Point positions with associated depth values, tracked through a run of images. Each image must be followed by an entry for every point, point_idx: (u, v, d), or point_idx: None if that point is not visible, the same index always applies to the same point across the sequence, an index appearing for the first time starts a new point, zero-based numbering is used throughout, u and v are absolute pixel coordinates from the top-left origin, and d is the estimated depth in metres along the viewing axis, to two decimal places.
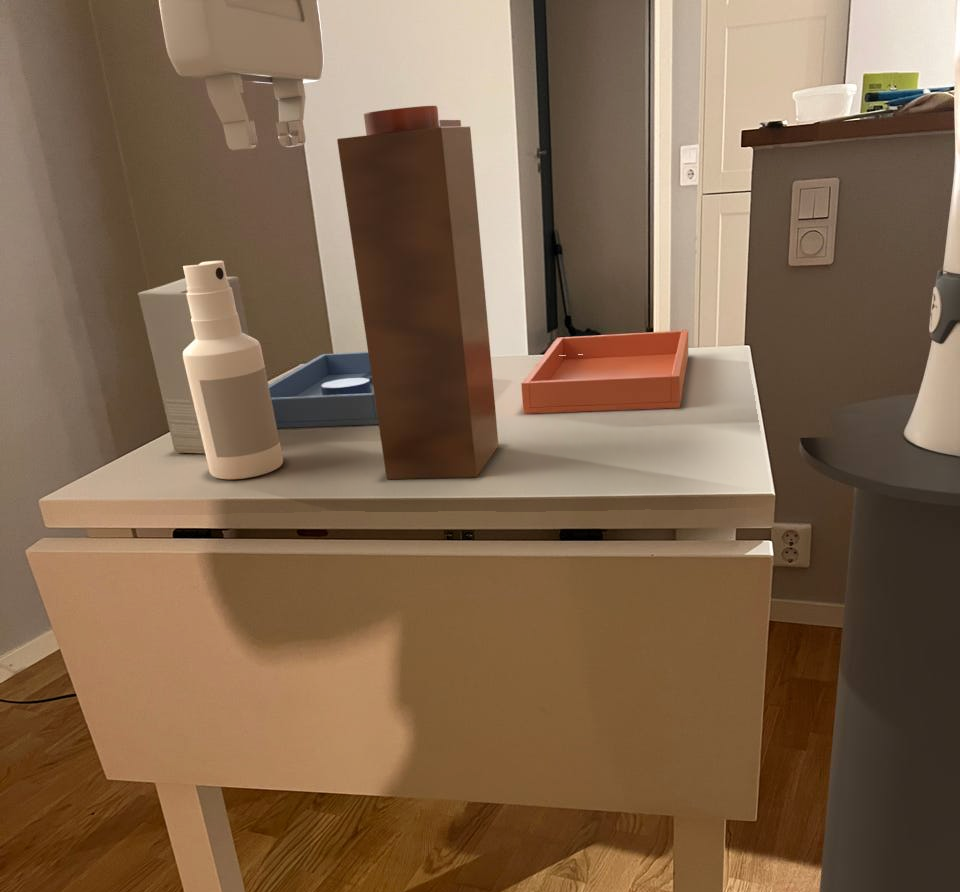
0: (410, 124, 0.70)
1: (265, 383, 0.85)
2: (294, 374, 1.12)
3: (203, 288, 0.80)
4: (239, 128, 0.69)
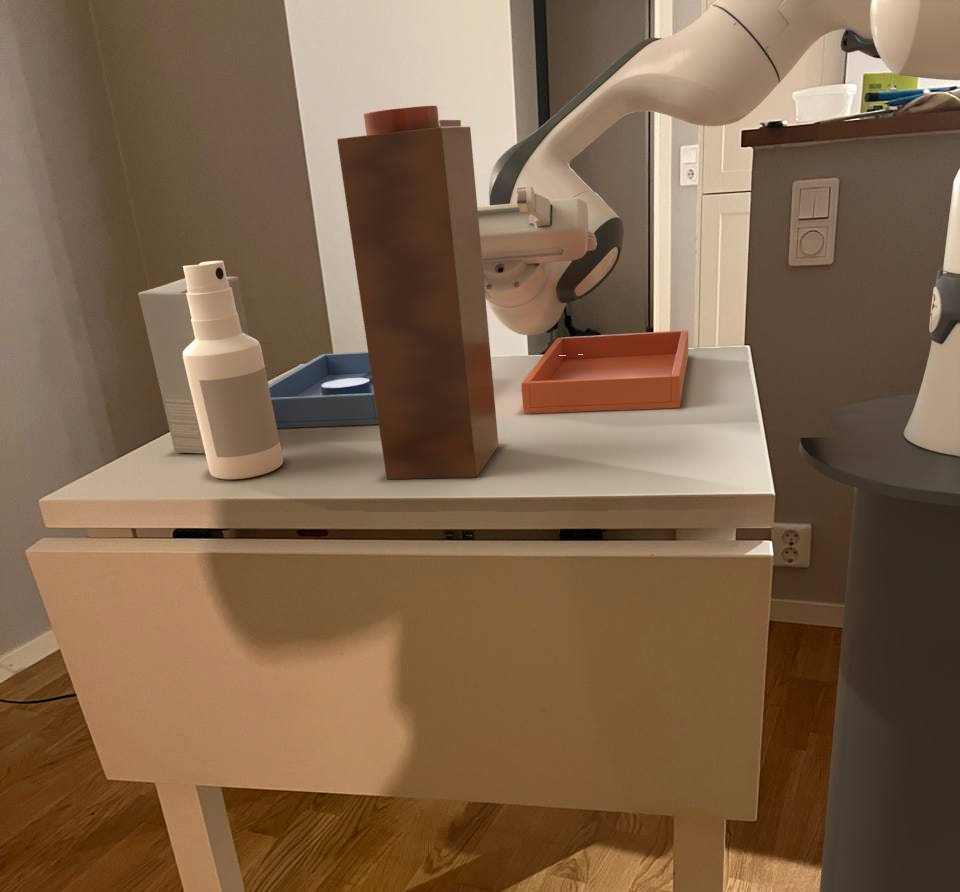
0: (410, 124, 0.70)
1: (265, 383, 0.85)
2: (294, 374, 1.12)
3: (203, 288, 0.80)
4: (533, 203, 0.94)
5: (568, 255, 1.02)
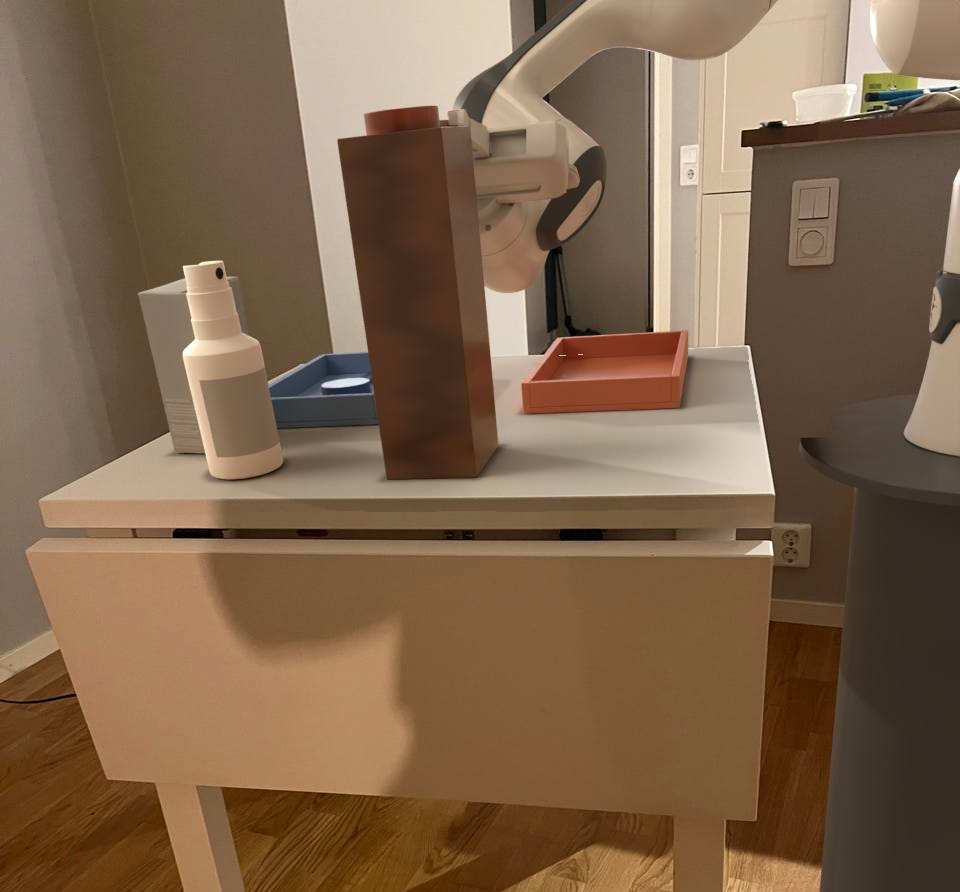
0: (410, 124, 0.70)
1: (265, 383, 0.85)
2: (294, 374, 1.12)
3: (203, 288, 0.80)
4: None
5: (546, 192, 0.89)
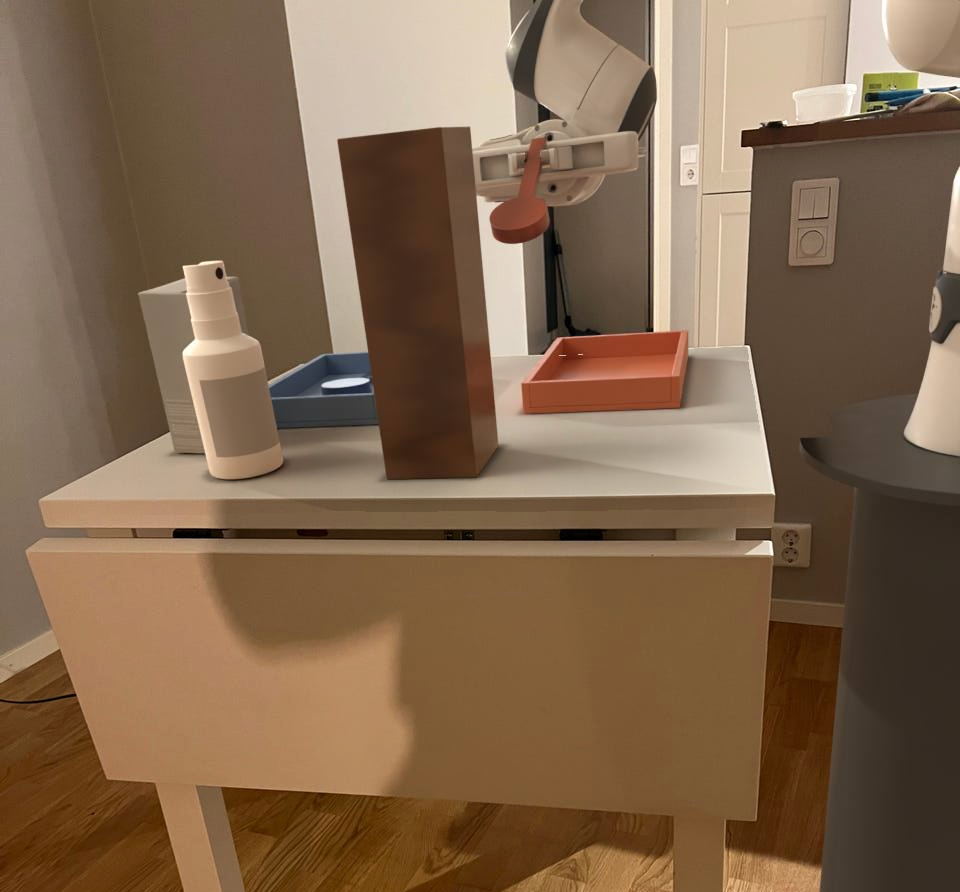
0: (530, 236, 0.90)
1: (265, 383, 0.85)
2: (294, 374, 1.12)
3: (203, 288, 0.80)
4: (557, 161, 0.98)
5: (619, 172, 1.05)
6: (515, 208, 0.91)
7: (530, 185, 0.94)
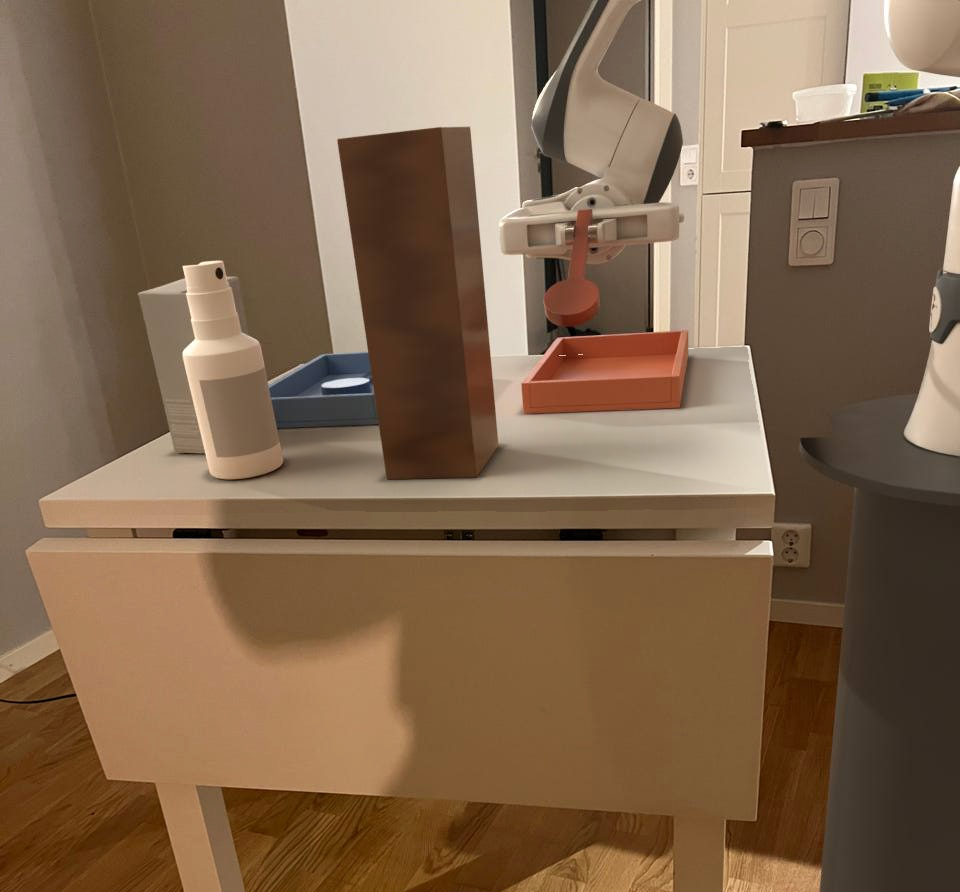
0: (583, 320, 0.95)
1: (265, 383, 0.85)
2: (294, 374, 1.12)
3: (203, 288, 0.80)
4: (603, 235, 1.02)
5: None
6: (568, 291, 0.96)
7: (580, 263, 0.99)
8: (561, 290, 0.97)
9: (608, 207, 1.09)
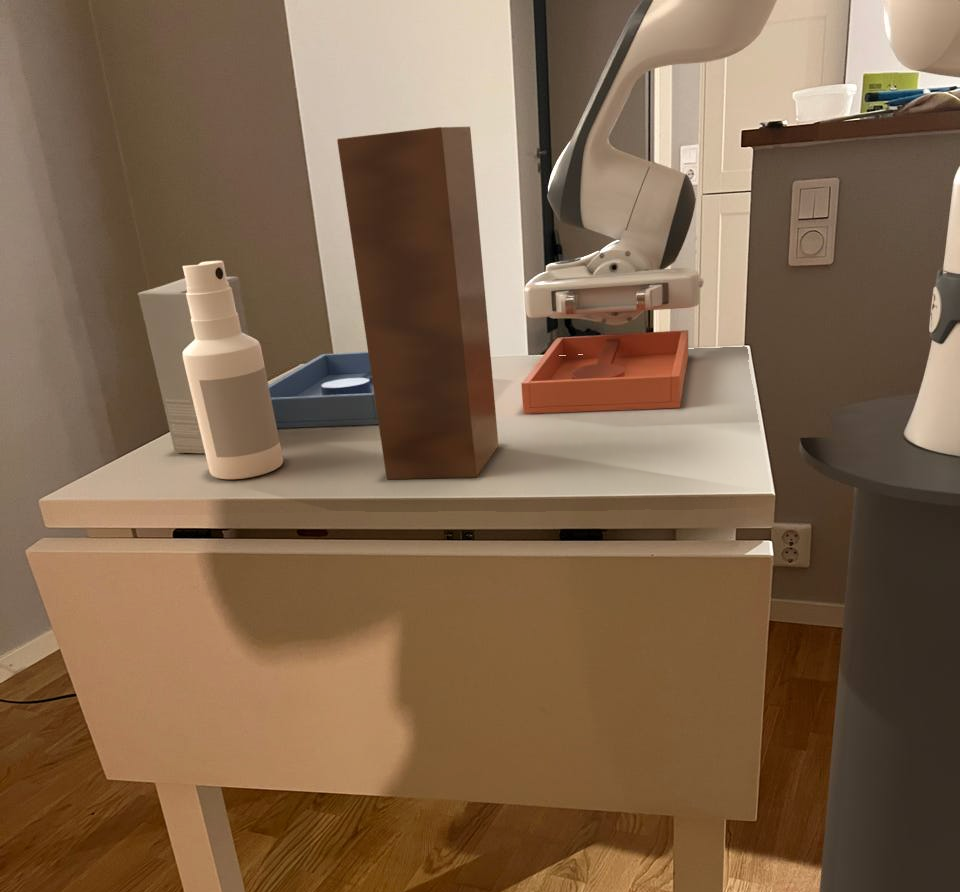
0: None
1: (265, 383, 0.85)
2: (294, 374, 1.12)
3: (203, 288, 0.80)
4: (650, 302, 1.06)
5: None
6: (595, 369, 1.02)
7: (607, 361, 1.06)
8: (588, 369, 1.02)
9: (629, 272, 1.13)
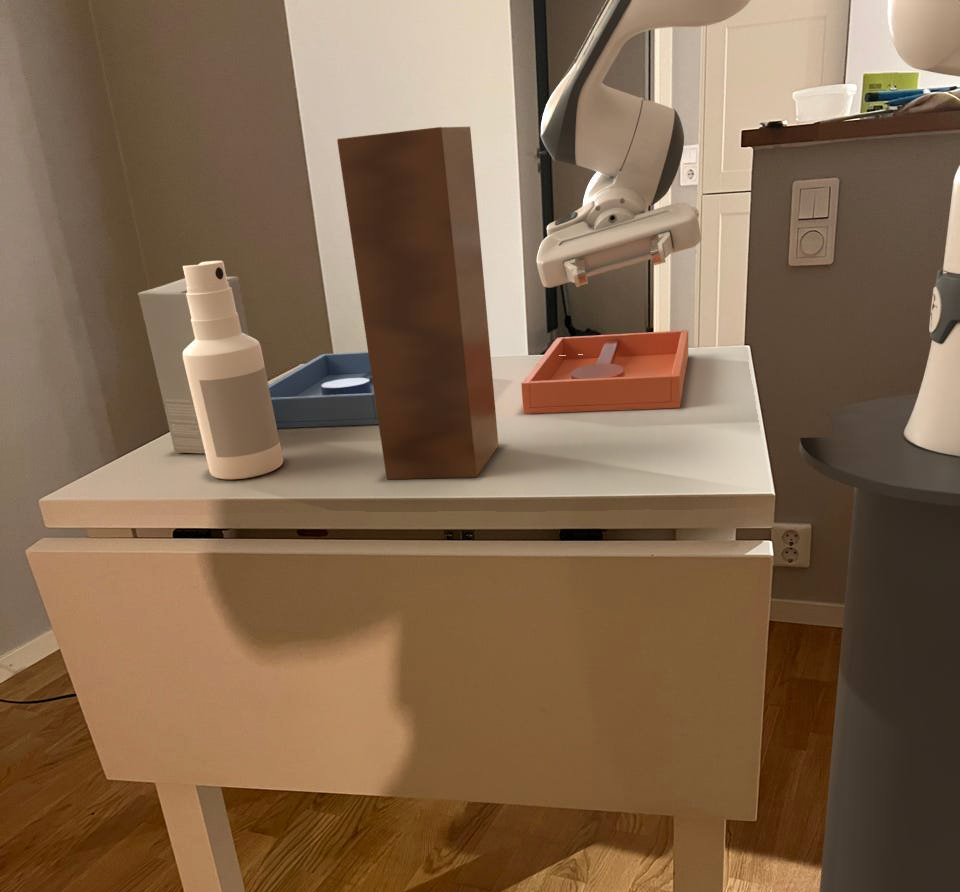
0: None
1: (265, 383, 0.85)
2: (294, 374, 1.12)
3: (203, 288, 0.80)
4: (664, 254, 1.14)
5: None
6: (595, 369, 1.02)
7: (607, 361, 1.06)
8: (588, 369, 1.02)
9: (628, 220, 1.20)
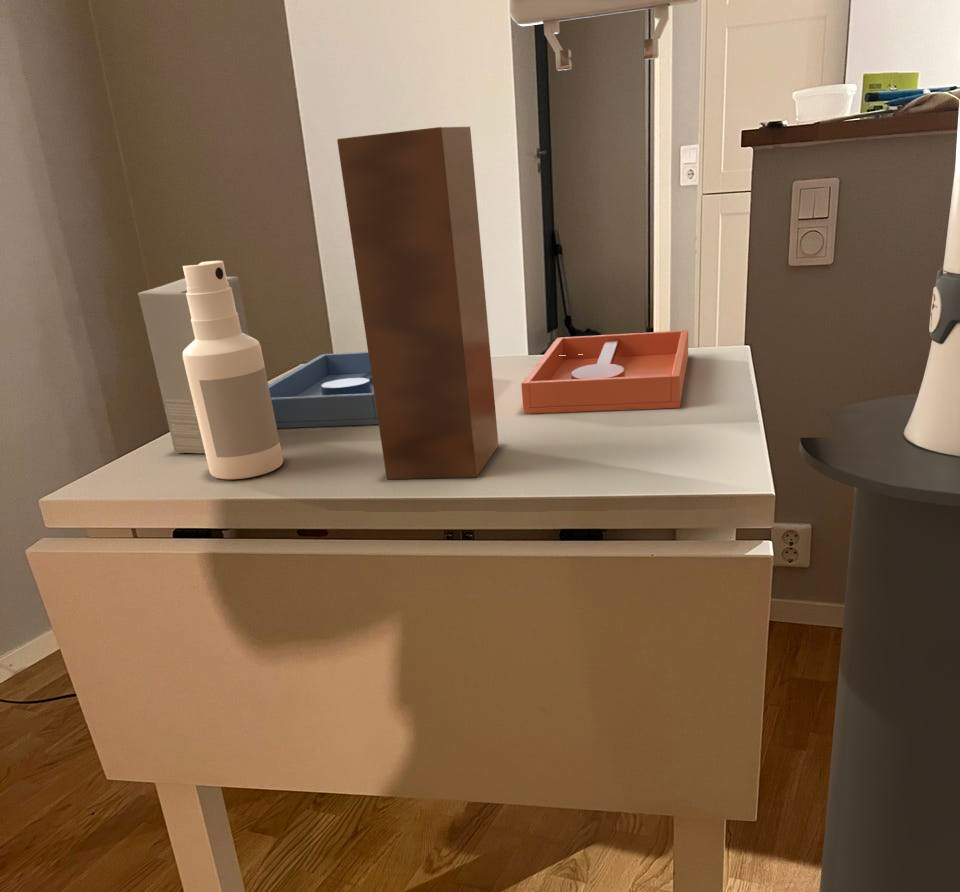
0: None
1: (265, 383, 0.85)
2: (294, 374, 1.12)
3: (203, 288, 0.80)
4: (658, 43, 1.02)
5: None
6: (595, 369, 1.02)
7: (607, 361, 1.06)
8: (588, 369, 1.02)
9: None
